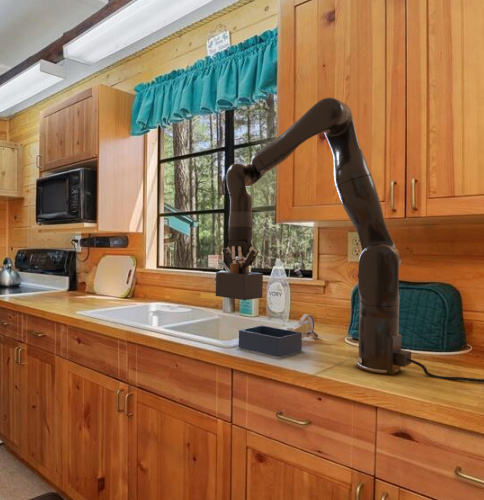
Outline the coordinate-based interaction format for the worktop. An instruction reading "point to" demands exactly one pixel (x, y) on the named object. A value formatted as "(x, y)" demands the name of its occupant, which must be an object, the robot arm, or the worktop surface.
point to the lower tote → (270, 340)
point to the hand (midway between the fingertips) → (239, 278)
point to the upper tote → (239, 284)
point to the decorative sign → (305, 327)
